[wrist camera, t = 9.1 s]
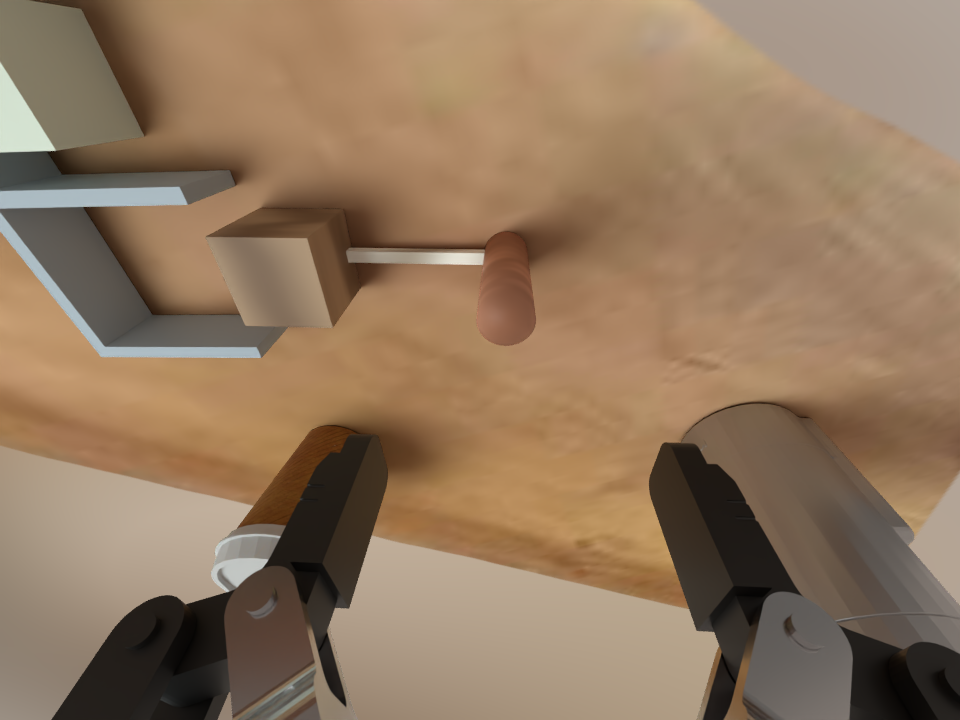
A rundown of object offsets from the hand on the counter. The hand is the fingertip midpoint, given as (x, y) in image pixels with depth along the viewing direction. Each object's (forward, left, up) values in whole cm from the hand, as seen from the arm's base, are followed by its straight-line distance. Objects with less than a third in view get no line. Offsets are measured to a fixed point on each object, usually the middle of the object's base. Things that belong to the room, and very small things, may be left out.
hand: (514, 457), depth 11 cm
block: (+22, -9, -15) cm, 28 cm away
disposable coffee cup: (+16, +18, -15) cm, 29 cm away
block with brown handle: (+7, 0, -15) cm, 17 cm away
